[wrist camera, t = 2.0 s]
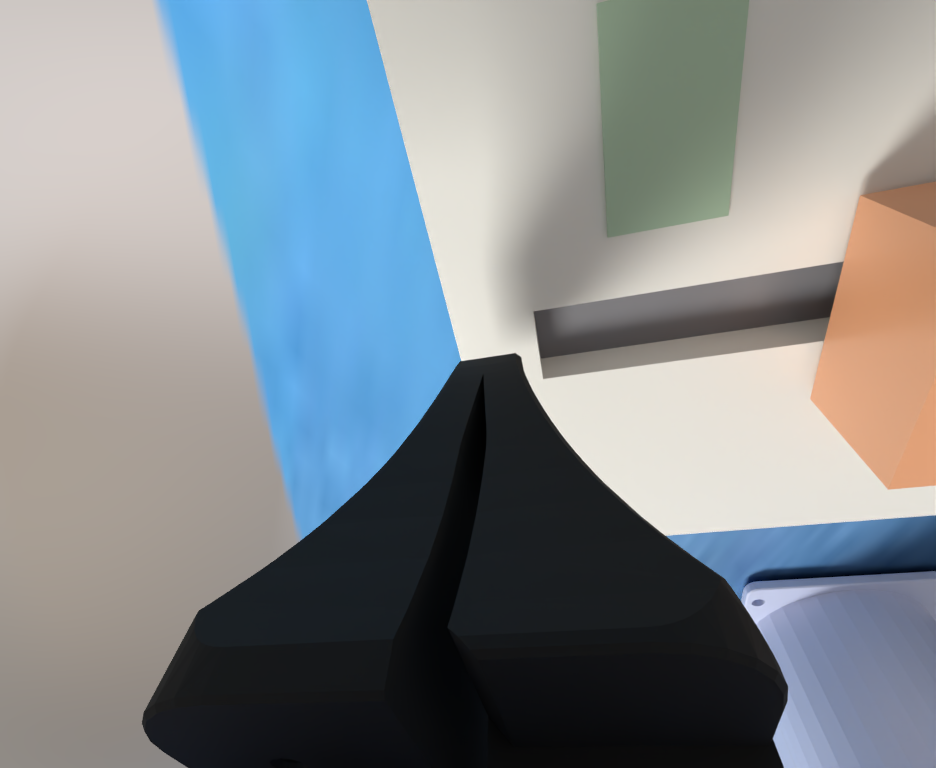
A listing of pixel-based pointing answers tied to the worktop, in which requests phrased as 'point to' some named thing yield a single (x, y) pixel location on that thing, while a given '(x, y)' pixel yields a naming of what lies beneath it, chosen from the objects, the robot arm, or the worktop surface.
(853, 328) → the switch
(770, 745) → the robot arm
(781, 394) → the white flat board
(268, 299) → the worktop surface
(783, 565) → the worktop surface
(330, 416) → the worktop surface
